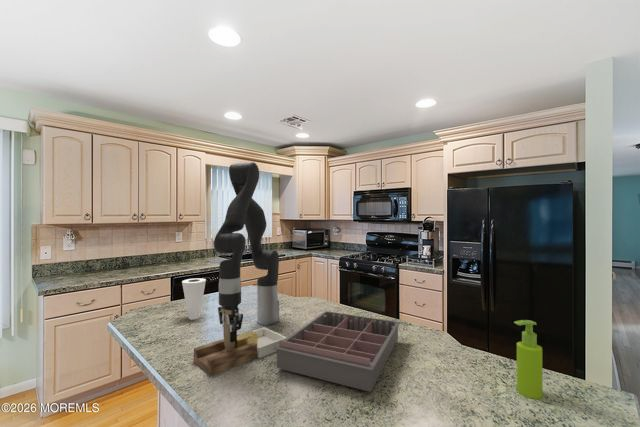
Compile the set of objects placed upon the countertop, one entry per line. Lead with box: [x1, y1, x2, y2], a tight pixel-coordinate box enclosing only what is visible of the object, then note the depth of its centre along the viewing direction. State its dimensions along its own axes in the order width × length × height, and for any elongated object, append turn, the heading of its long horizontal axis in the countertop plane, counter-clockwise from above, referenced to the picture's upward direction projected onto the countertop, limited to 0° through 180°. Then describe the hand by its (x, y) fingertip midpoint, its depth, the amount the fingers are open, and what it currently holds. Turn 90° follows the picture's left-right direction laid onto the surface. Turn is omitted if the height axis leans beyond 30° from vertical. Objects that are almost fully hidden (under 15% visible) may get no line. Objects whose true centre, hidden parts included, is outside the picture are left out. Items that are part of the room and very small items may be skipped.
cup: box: [181, 277, 207, 321], centre depth 145 cm, size 11×11×18 cm
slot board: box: [192, 333, 258, 377], centre depth 104 cm, size 17×13×4 cm
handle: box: [220, 306, 240, 352], centre depth 105 cm, size 5×6×15 cm
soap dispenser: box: [513, 319, 543, 400], centre depth 84 cm, size 6×7×20 cm
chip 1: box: [234, 333, 248, 349], centre depth 108 cm, size 4×4×4 cm
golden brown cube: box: [242, 330, 258, 345], centre depth 111 cm, size 4×4×4 cm
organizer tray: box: [274, 310, 401, 393], centre depth 107 cm, size 32×40×10 cm
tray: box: [251, 326, 288, 359], centre depth 114 cm, size 12×15×4 cm
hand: (230, 339), depth 105 cm, fingers closed on handle, 4 cm apart
